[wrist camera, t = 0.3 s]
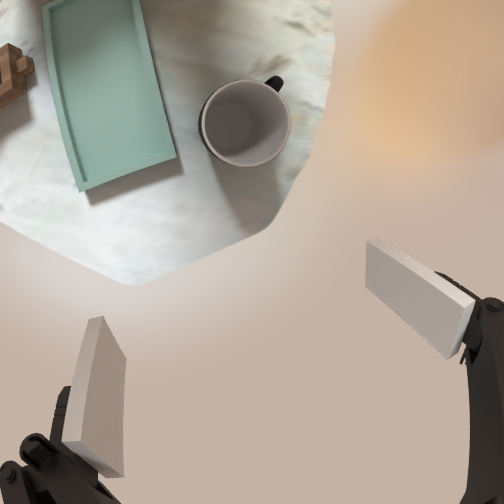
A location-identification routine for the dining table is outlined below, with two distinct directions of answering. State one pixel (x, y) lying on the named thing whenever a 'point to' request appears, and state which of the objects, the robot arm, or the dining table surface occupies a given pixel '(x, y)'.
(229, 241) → the dining table surface
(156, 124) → the tray
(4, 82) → the wooden rectangular frame
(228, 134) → the mug
